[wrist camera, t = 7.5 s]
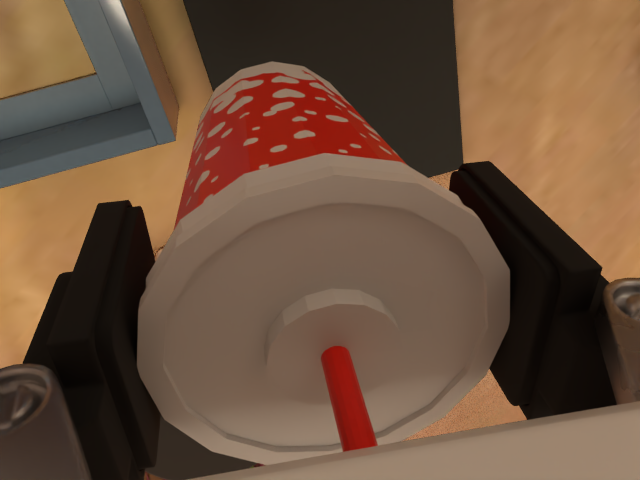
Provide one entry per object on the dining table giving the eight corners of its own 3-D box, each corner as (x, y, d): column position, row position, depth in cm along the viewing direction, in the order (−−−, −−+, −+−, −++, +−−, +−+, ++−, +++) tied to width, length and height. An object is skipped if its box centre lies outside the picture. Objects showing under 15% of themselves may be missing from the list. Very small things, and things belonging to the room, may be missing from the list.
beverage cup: (153, 36, 14) (-122, 708, 2) (380, 28, 15) (990, 490, 3) (186, 235, 17) (136, 923, 6) (370, 218, 18) (654, 787, 7)
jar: (262, 231, 35) (287, 362, 25) (272, 325, 40) (296, 467, 30) (122, 249, 34) (90, 393, 24) (148, 343, 39) (130, 498, 29)
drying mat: (435, -223, 24) (438, -225, 24) (461, 165, 36) (463, 168, 35) (135, -147, 24) (134, -148, 23) (257, 223, 35) (257, 226, 35)
